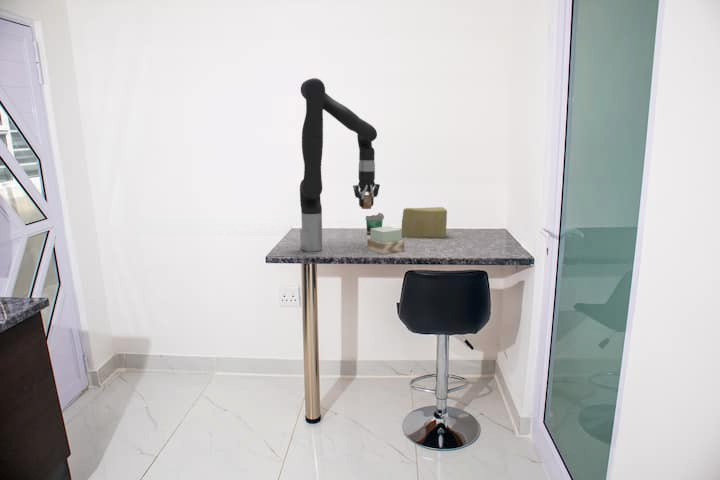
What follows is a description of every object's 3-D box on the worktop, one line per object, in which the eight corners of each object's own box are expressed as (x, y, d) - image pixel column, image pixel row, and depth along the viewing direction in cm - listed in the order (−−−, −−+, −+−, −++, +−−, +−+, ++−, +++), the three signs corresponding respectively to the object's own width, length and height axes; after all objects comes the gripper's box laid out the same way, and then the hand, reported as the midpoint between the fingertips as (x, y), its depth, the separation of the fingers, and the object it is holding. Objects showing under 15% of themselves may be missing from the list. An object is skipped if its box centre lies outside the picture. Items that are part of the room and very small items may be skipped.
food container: (375, 236, 261) (375, 217, 259) (365, 234, 265) (365, 215, 263) (388, 232, 271) (388, 213, 268) (379, 230, 274) (379, 212, 272)
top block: (382, 243, 226) (382, 232, 225) (370, 239, 234) (370, 228, 233) (400, 240, 231) (401, 229, 230) (388, 236, 239) (388, 226, 238)
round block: (364, 209, 236) (365, 196, 235) (359, 207, 240) (359, 195, 238) (373, 208, 238) (373, 195, 237) (367, 207, 242) (367, 194, 241)
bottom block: (382, 255, 225) (382, 244, 224) (367, 249, 235) (367, 239, 234) (404, 251, 231) (404, 240, 230) (388, 246, 241) (388, 236, 240)
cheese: (403, 239, 254) (403, 209, 251) (400, 235, 264) (400, 206, 261) (446, 238, 256) (447, 209, 253) (442, 234, 265) (443, 206, 262)
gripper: (358, 171, 228) (358, 208, 232) (383, 170, 236) (383, 206, 240) (349, 170, 234) (349, 206, 238) (374, 168, 242) (374, 204, 246)
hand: (366, 206), depth 239 cm, fingers closed on round block, 4 cm apart
